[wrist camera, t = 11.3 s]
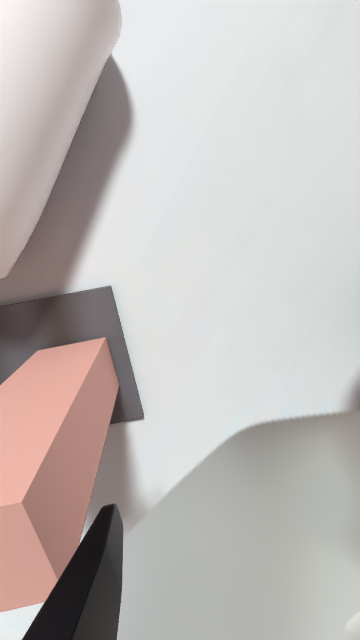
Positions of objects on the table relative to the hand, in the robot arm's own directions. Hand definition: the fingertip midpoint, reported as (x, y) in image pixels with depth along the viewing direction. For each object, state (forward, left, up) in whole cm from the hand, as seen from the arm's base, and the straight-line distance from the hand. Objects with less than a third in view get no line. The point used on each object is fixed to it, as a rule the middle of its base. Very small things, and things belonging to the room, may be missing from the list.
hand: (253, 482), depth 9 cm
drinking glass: (+17, -11, -10) cm, 23 cm away
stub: (+6, +7, -13) cm, 16 cm away
